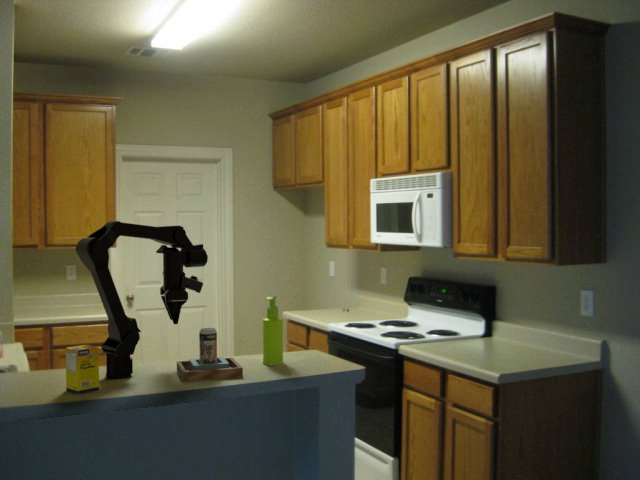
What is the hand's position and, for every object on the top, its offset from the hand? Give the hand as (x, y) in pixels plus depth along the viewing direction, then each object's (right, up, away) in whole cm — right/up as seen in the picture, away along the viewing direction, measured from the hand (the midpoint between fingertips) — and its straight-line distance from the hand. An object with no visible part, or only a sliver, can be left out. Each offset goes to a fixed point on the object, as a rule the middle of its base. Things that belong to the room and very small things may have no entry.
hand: (173, 321), depth 200 cm
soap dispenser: (+29, -13, +3) cm, 32 cm away
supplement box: (-17, -14, -27) cm, 35 cm away
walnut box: (+12, -13, -9) cm, 20 cm away
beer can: (+12, -13, -9) cm, 20 cm away
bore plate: (+12, -13, -9) cm, 20 cm away
